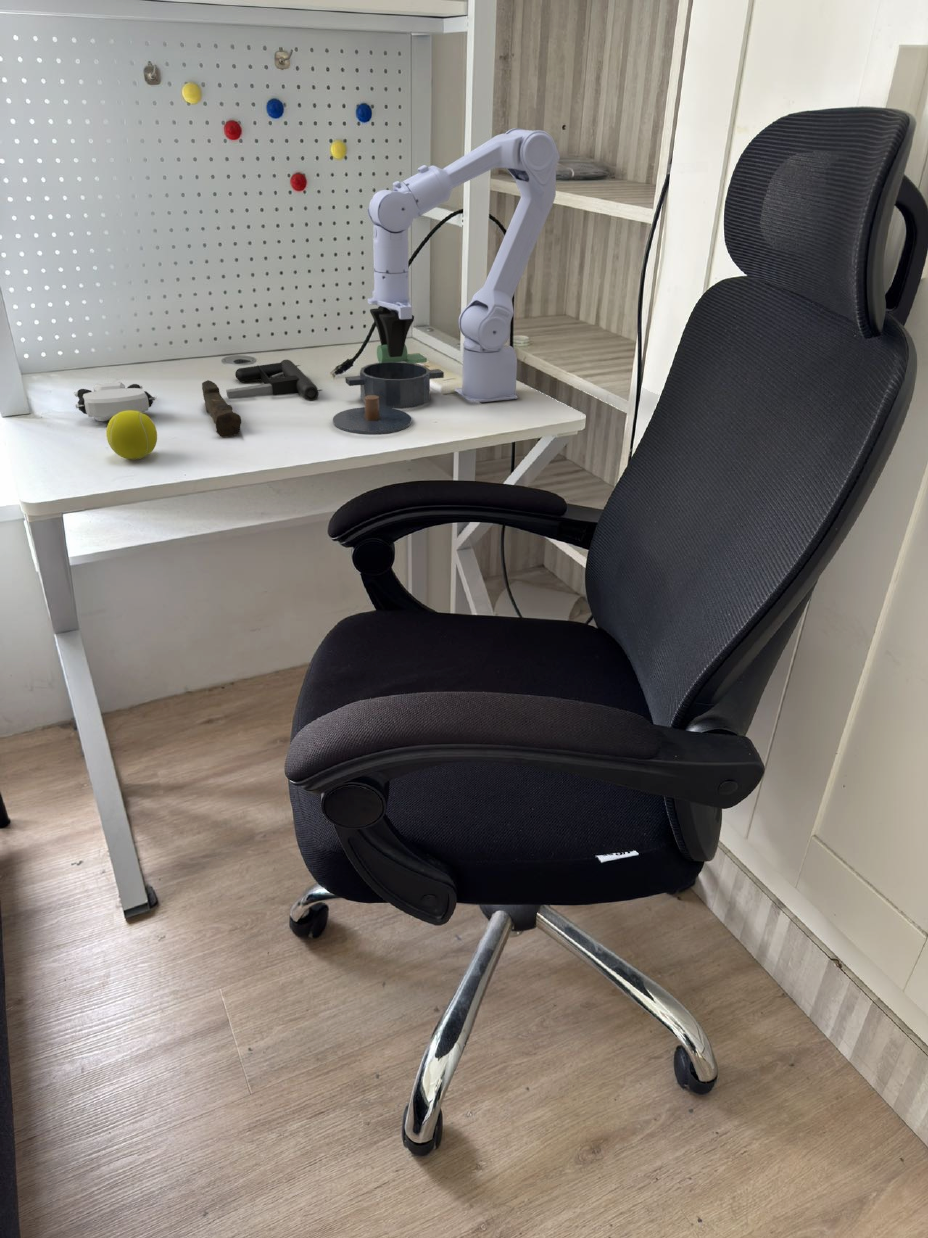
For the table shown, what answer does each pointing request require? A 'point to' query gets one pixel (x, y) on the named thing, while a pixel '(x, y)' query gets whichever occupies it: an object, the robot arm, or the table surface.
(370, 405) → the pot lid
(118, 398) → the robot toy
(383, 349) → the green cylinder on base
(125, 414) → the tennis ball
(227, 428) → the brown rough rod
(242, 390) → the toy submachine gun
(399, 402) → the pot
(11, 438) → the table surface
